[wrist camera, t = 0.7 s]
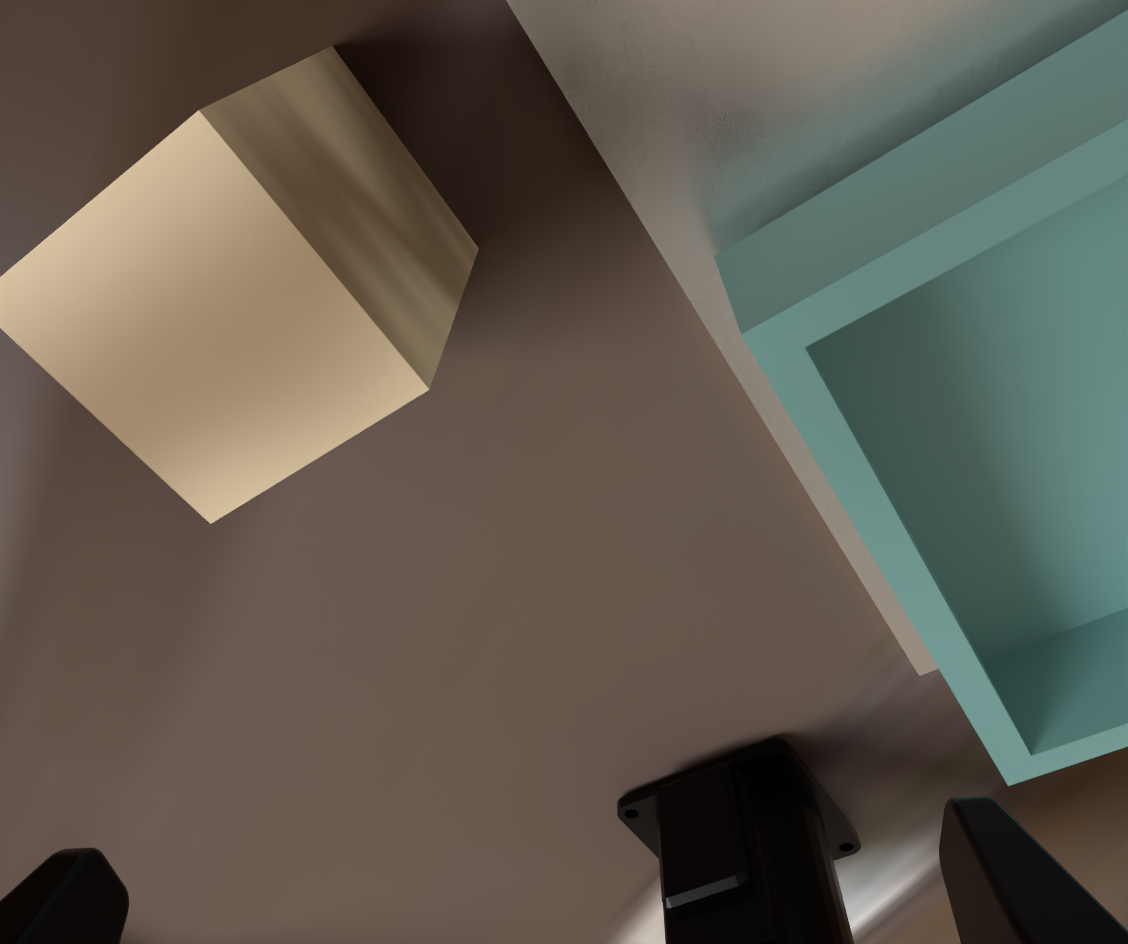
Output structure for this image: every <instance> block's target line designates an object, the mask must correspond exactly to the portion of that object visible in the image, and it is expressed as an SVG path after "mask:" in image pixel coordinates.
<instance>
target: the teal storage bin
mask: <svg viewBox="0 0 1128 944" xmlns="http://www.w3.org/2000/svg"><path fill="white" fill-rule="evenodd" d="M714 258H715V261H716V264H717V267H718V270H719V272H720V275H721V278H722V281H723V284H724V287H725V290H726V292H727V295H728V298H729V301H730V304H731V307H732V310H733V313H734V315H735V318H736V321H737V324H738V327H739V330H740V333H741V335H742V337H743V338H744V340H745V342H746V344H747V345H748V347H749V349H750V350H751V352H752V354H753V355H754V357H755V359H756V360H757V362H758V364H759V365H760V367H761V369H762V371H763V372H764V374H765V376H766V377H767V379H768V381H769V382H770V384H771V386H772V387H773V389H774V391H775V393H776V394H777V396H778V398H779V399H780V401H781V403H782V404H783V406H784V408H785V409H786V411H787V413H788V415H789V416H790V418H791V420H792V421H793V423H794V425H795V426H796V428H797V430H798V431H799V433H800V435H801V436H802V438H803V440H804V442H805V443H806V445H807V447H808V448H809V450H810V452H811V453H812V455H813V457H814V458H815V460H816V462H817V464H818V465H819V467H820V469H821V470H822V472H823V474H824V475H825V477H826V479H827V480H828V482H829V484H830V486H831V487H832V489H833V491H834V492H835V494H836V496H837V497H838V499H839V501H840V502H841V504H842V506H843V507H844V509H845V511H846V513H847V514H848V516H849V518H850V519H851V521H852V523H853V524H854V526H855V528H856V529H857V531H858V533H859V535H860V536H861V538H862V540H863V541H864V543H865V545H866V546H867V548H868V550H869V551H870V553H871V555H872V557H873V558H874V560H875V562H876V563H877V565H878V567H879V568H880V570H881V572H882V573H883V575H884V577H885V578H886V580H887V582H888V584H889V585H890V587H891V589H892V590H893V592H894V594H895V595H896V597H897V599H898V600H899V602H900V604H901V606H902V607H903V609H904V611H905V612H906V614H907V616H908V617H909V619H910V621H911V622H912V624H913V626H914V628H915V629H916V631H917V633H918V634H919V636H920V638H921V639H922V641H923V643H924V644H925V646H926V648H927V649H928V651H929V653H930V655H931V656H932V658H933V660H934V661H935V663H936V665H937V666H938V668H939V670H940V671H941V673H942V675H943V677H944V678H945V680H946V682H947V683H948V685H949V687H950V688H951V690H952V692H953V693H954V695H955V697H956V699H957V700H958V702H959V704H960V705H961V707H962V709H963V710H964V712H965V714H966V715H967V717H968V719H969V720H970V722H971V724H972V726H973V727H974V729H975V731H976V732H977V734H978V736H979V737H980V739H981V741H982V742H983V744H984V746H985V748H986V749H987V751H988V753H989V754H990V756H991V758H992V759H993V761H994V763H995V764H996V766H997V768H998V770H999V771H1000V773H1001V775H1002V776H1003V778H1004V780H1005V781H1006V783H1007V785H1008V786H1010V785H1013V784H1016V783H1019V782H1022V781H1025V780H1028V779H1031V778H1034V777H1037V776H1040V775H1043V774H1046V773H1049V772H1052V771H1056V770H1059V769H1062V768H1065V767H1068V766H1071V765H1074V764H1077V763H1080V762H1083V761H1086V760H1089V759H1092V758H1095V757H1098V756H1101V755H1104V754H1107V753H1110V752H1113V751H1116V750H1119V749H1122V748H1125V747H1128V10H1127V11H1125V12H1123V13H1121V14H1120V15H1118V16H1116V17H1115V18H1113V19H1111V20H1110V21H1108V22H1106V23H1105V24H1103V25H1101V26H1100V27H1098V28H1096V29H1095V30H1093V31H1091V32H1090V33H1088V34H1086V35H1085V36H1083V37H1081V38H1080V39H1078V40H1076V41H1075V42H1073V43H1071V44H1069V45H1068V46H1066V47H1064V48H1063V49H1061V50H1059V51H1058V52H1056V53H1054V54H1053V55H1051V56H1049V57H1048V58H1046V59H1044V60H1043V61H1041V62H1039V63H1038V64H1036V65H1034V66H1033V67H1031V68H1029V69H1028V70H1026V71H1024V72H1023V73H1021V74H1019V75H1017V76H1016V77H1014V78H1012V79H1011V80H1009V81H1007V82H1006V83H1004V84H1002V85H1001V86H999V87H997V88H996V89H994V90H992V91H991V92H989V93H987V94H986V95H984V96H982V97H981V98H979V99H977V100H976V101H974V102H972V103H971V104H969V105H967V106H965V107H964V108H962V109H960V110H959V111H957V112H955V113H954V114H952V115H950V116H949V117H947V118H945V119H944V120H942V121H940V122H939V123H937V124H935V125H934V126H932V127H930V128H929V129H927V130H925V131H924V132H922V133H920V134H919V135H917V136H915V137H914V138H912V139H910V140H908V141H907V142H905V143H903V144H902V145H900V146H898V147H897V148H895V149H893V150H892V151H890V152H888V153H887V154H885V155H883V156H882V157H880V158H878V159H877V160H875V161H873V162H872V163H870V164H868V165H867V166H865V167H863V168H862V169H860V170H858V171H856V172H855V173H853V174H851V175H850V176H848V177H846V178H845V179H843V180H841V181H840V182H838V183H836V184H835V185H833V186H831V187H830V188H828V189H826V190H825V191H823V192H821V193H820V194H818V195H816V196H815V197H813V198H811V199H810V200H808V201H806V202H804V203H803V204H801V205H799V206H798V207H796V208H794V209H793V210H791V211H789V212H788V213H786V214H784V215H783V216H781V217H779V218H778V219H776V220H774V221H773V222H771V223H769V224H768V225H766V226H764V227H763V228H761V229H759V230H758V231H756V232H754V233H753V234H751V235H749V236H747V237H746V238H744V239H742V240H741V241H739V242H737V243H736V244H734V245H732V246H731V247H729V248H727V249H726V250H724V251H722V252H721V253H719V254H717V255H716V256H714Z"/></svg>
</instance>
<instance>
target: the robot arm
mask: <svg viewBox="0 0 1128 944" xmlns="http://www.w3.org/2000/svg"><path fill="white" fill-rule="evenodd" d="M617 815H618V817H619V819H620V820H621V821H622V822H623V823H624V824H625V825H626V826H627V827H628V828H629V829H630V830H631V831H632V832H633V833H634V834H635V835H636V836H637V837H638V838H639V839H640V840H641V841H642V842H643V843H644V844H645V845H646V846H647V847H648V848H649V849H650V850H651V851H652V852H653V853H654V854H655V855H656V856H657V857H658V858H659V864H660V879H661V894H662V902H663V910H664V925H665V940H666V944H854V941H853V937H852V933H851V929H850V925H849V921H848V917H847V913H846V909H845V905H844V901H843V897H842V893H841V889H840V886H839V882H838V878H837V874H836V870H835V866H834V862H833V861H834V860H837V859H840V858H843V857H846V856H849V855H852V854H854V853H856V852H858V851H859V850H860V847H861V845H860V841H859V838H858V835H857V832H856V831H855V830H854V828H853V827H852V826H851V824H850V823H849V822H848V821H847V819H846V818H845V817H844V815H843V814H842V813H841V811H840V810H839V809H838V807H837V806H836V805H835V804H834V802H833V801H832V800H831V798H830V797H829V796H828V794H827V793H826V792H825V790H824V789H823V788H822V787H821V785H820V784H819V783H818V781H817V780H816V779H815V777H814V776H813V775H812V774H811V772H810V771H809V770H808V768H807V767H806V766H805V764H804V763H803V762H802V760H801V759H800V758H799V757H798V755H797V754H796V753H795V751H794V750H793V749H792V747H791V746H790V745H789V744H788V743H787V742H786V741H783V740H770V741H767V742H764V743H762V744H759V745H756V746H754V747H751V748H748V749H746V750H743V751H741V752H738V753H735V754H733V755H730V756H728V757H725V758H722V759H720V760H717V761H715V762H712V763H709V764H707V765H704V766H701V767H699V768H696V769H694V770H691V771H688V772H686V773H683V774H681V775H678V776H675V777H673V778H670V779H668V780H665V781H662V782H660V783H657V784H654V785H652V786H649V787H647V788H644V789H641V790H639V791H636V792H634V793H631V794H628V795H626V796H623V797H622V798H620V799H619V800H618V802H617ZM939 857H940V865H941V870H942V874H943V878H944V882H945V885H946V889H947V893H948V896H949V900H950V904H951V908H952V911H953V915H954V919H955V922H956V926H957V930H958V933H959V937H960V941H961V944H1128V931H1127V930H1126V929H1125V928H1124V927H1123V926H1122V925H1121V924H1120V923H1119V922H1118V921H1117V920H1116V919H1115V918H1114V917H1113V916H1112V915H1111V914H1110V913H1109V912H1108V911H1107V910H1106V909H1105V908H1104V907H1103V906H1102V905H1101V904H1100V903H1099V902H1098V901H1097V900H1096V899H1095V898H1094V897H1093V896H1092V895H1091V894H1090V893H1089V892H1088V891H1087V890H1086V889H1085V888H1084V887H1083V886H1082V885H1081V884H1080V883H1079V882H1078V881H1077V880H1076V879H1075V878H1074V877H1073V876H1072V875H1071V874H1070V873H1069V872H1068V871H1067V870H1066V869H1065V868H1064V867H1063V866H1062V865H1061V864H1060V863H1059V862H1058V861H1057V860H1056V859H1054V858H1053V857H1052V856H1051V855H1050V854H1049V853H1048V852H1047V851H1046V850H1045V849H1044V848H1043V847H1042V846H1041V845H1040V844H1039V843H1038V842H1037V841H1036V840H1035V839H1034V838H1033V837H1032V836H1031V835H1030V834H1029V833H1028V832H1027V831H1026V830H1025V829H1024V828H1023V827H1022V826H1021V825H1020V824H1019V823H1018V822H1017V821H1016V820H1015V819H1014V818H1013V817H1012V816H1011V815H1010V814H1009V813H1008V812H1007V811H1006V810H1005V809H1004V808H1003V807H1002V806H1001V805H1000V804H999V803H998V802H996V801H995V800H994V799H992V798H989V797H986V796H973V797H955V798H950V799H949V800H948V801H947V803H946V805H945V809H944V816H943V824H942V831H941V838H940V846H939ZM128 908H129V896H128V892H127V889H126V887H125V886H124V884H123V883H122V881H121V880H120V878H119V877H118V875H117V874H116V872H115V871H114V869H113V868H112V866H111V865H110V863H109V862H108V860H107V859H106V858H105V856H104V855H103V853H102V852H101V851H100V850H98V849H95V848H75V849H65V850H61V851H58V852H56V853H55V854H53V855H51V856H50V857H49V858H48V859H46V860H45V861H44V862H43V863H42V864H41V865H40V866H39V867H38V868H36V869H35V870H34V871H33V872H32V873H31V874H30V875H29V876H27V877H26V878H25V879H24V880H23V881H22V882H21V883H20V884H18V885H17V886H16V887H15V888H14V889H13V890H12V891H11V892H9V893H8V894H7V895H6V896H5V897H4V898H3V899H2V900H1V901H0V944H120V940H121V936H122V933H123V929H124V926H125V922H126V918H127V914H128Z"/></svg>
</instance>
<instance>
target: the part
mask: <svg viewBox="0 0 1128 944" xmlns="http://www.w3.org/2000/svg"><path fill="white" fill-rule="evenodd" d="M478 250H479V248H478V247H477V245H476V244H475V243H474V241H473V240H472V238H471V237H470V236H469V234H468V233H467V232H466V230H465V229H464V227H463V226H462V225H461V223H460V222H459V220H458V219H457V218H456V216H455V215H454V214H453V212H452V211H451V209H450V208H449V207H448V205H447V204H446V203H445V201H444V200H443V198H442V197H441V196H440V194H439V193H438V191H437V190H436V189H435V187H434V186H433V185H432V183H431V182H430V180H429V179H428V178H427V176H426V175H425V173H424V172H423V171H422V169H421V168H420V167H419V165H418V164H417V162H416V161H415V160H414V158H413V157H412V155H411V154H410V153H409V151H408V150H407V149H406V147H405V146H404V144H403V143H402V142H401V140H400V139H399V137H398V136H397V135H396V133H395V132H394V131H393V129H392V128H391V126H390V125H389V124H388V122H387V121H386V120H385V118H384V117H383V115H382V114H381V113H380V111H379V110H378V108H377V107H376V106H375V104H374V103H373V102H372V100H371V99H370V97H369V96H368V95H367V93H366V92H365V90H364V89H363V88H362V86H361V85H360V84H359V82H358V81H357V79H356V78H355V77H354V75H353V74H352V72H351V71H350V70H349V68H348V67H347V66H346V64H345V63H344V61H343V60H342V59H341V57H340V56H339V55H338V53H337V52H336V50H335V49H334V48H333V46H331V47H329V48H327V49H325V50H323V51H321V52H319V53H316V54H314V55H312V56H310V57H308V58H306V59H304V60H302V61H300V62H298V63H296V64H294V65H292V66H290V67H287V68H285V69H283V70H281V71H279V72H277V73H275V74H273V75H271V76H269V77H267V78H265V79H263V80H261V81H258V82H256V83H254V84H252V85H250V86H248V87H246V88H244V89H242V90H240V91H238V92H236V93H234V94H232V95H229V96H227V97H225V98H223V99H221V100H219V101H217V102H215V103H213V104H211V105H209V106H207V107H205V108H203V109H200V110H199V111H197V112H196V113H195V114H194V115H193V116H191V117H190V118H189V119H188V120H187V121H186V122H184V123H183V124H182V125H181V126H180V127H178V128H177V129H176V130H175V131H174V132H172V133H171V134H170V135H169V136H168V137H166V138H165V139H164V140H163V141H162V142H161V143H159V144H158V145H157V146H156V147H155V148H153V149H152V150H151V151H150V152H149V153H147V154H146V155H145V156H144V157H143V158H142V159H140V160H139V161H138V162H137V163H136V164H134V165H133V166H132V167H131V168H130V169H128V170H127V171H126V172H125V173H124V174H122V175H121V176H120V177H119V178H118V179H117V180H115V181H114V182H113V183H112V184H111V185H109V186H108V187H107V188H106V189H105V190H103V191H102V192H101V193H100V194H99V195H97V196H96V197H95V198H94V199H93V200H92V201H90V202H89V203H88V204H87V205H86V206H84V207H83V208H82V209H81V210H80V211H78V212H77V213H76V214H75V215H74V216H72V217H71V218H70V219H69V220H68V221H67V222H65V223H64V224H63V225H62V226H61V227H59V228H58V229H57V230H56V231H55V232H53V233H52V234H51V235H50V236H49V237H48V238H46V239H45V240H44V241H43V242H42V243H40V244H39V245H38V246H37V247H36V248H34V249H33V250H32V251H31V252H30V253H28V254H27V255H26V256H25V257H24V258H23V259H21V260H20V261H19V262H18V263H17V264H15V265H14V266H13V267H12V268H11V269H9V270H8V271H7V272H6V273H5V274H3V275H2V276H1V277H0V328H1V329H2V330H3V331H4V332H5V333H6V334H7V335H8V336H10V337H11V338H12V339H13V340H14V341H15V342H16V343H17V344H18V345H19V346H20V347H21V348H22V349H23V350H25V351H26V352H27V353H28V354H29V355H30V356H31V357H32V358H33V359H34V360H35V361H36V362H37V363H39V364H40V365H41V366H42V367H43V368H44V369H45V370H46V371H47V372H48V373H49V374H50V375H51V376H52V377H54V378H55V379H56V380H57V381H58V382H59V383H60V384H61V385H62V386H63V387H64V388H65V389H66V390H67V391H69V392H70V393H71V394H72V395H73V396H74V397H75V398H76V399H77V400H78V401H79V402H80V403H81V404H82V405H84V406H85V407H86V408H87V409H88V410H89V411H90V412H91V413H92V414H93V415H94V416H95V417H96V418H97V419H99V420H100V421H101V422H102V423H103V424H104V425H105V426H106V427H107V428H108V429H109V430H110V431H111V432H113V433H114V434H115V435H116V436H117V437H118V438H119V439H120V440H121V441H122V442H123V443H124V444H125V445H126V446H128V447H129V448H130V449H131V450H132V451H133V452H134V453H135V454H136V455H137V456H138V457H139V458H140V459H141V460H143V461H144V462H145V463H146V464H147V465H148V466H149V467H150V468H151V469H152V470H153V471H154V472H155V473H156V474H158V475H159V476H160V477H161V478H162V479H163V480H164V481H165V482H166V483H167V484H168V485H169V486H170V487H172V488H173V489H174V490H175V491H176V492H177V493H178V494H179V495H180V496H181V497H182V498H183V499H184V500H185V501H187V502H188V503H189V504H190V505H191V506H192V507H193V508H194V509H195V510H196V511H197V512H198V513H199V514H200V515H202V516H203V517H204V518H205V519H206V520H207V521H208V522H209V523H210V524H211V523H213V522H215V521H216V520H218V519H219V518H221V517H223V516H224V515H226V514H228V513H229V512H231V511H232V510H234V509H236V508H237V507H239V506H241V505H242V504H244V503H245V502H247V501H249V500H250V499H252V498H254V497H255V496H257V495H258V494H260V493H262V492H263V491H265V490H267V489H268V488H270V487H272V486H273V485H275V484H276V483H278V482H280V481H281V480H283V479H285V478H286V477H288V476H289V475H291V474H293V473H294V472H296V471H298V470H299V469H301V468H302V467H304V466H306V465H307V464H309V463H311V462H312V461H314V460H315V459H317V458H319V457H320V456H322V455H324V454H325V453H327V452H328V451H330V450H332V449H333V448H335V447H337V446H338V445H340V444H342V443H343V442H345V441H346V440H348V439H350V438H351V437H353V436H355V435H356V434H358V433H359V432H361V431H363V430H364V429H366V428H368V427H369V426H371V425H372V424H374V423H376V422H377V421H379V420H381V419H382V418H384V417H385V416H387V415H389V414H390V413H392V412H394V411H395V410H397V409H398V408H400V407H402V406H403V405H405V404H407V403H408V402H410V401H411V400H413V399H415V398H416V397H418V396H420V395H421V394H423V393H425V392H426V391H428V390H429V389H430V386H431V384H432V381H433V378H434V375H435V372H436V369H437V366H438V364H439V361H440V358H441V355H442V352H443V349H444V347H445V344H446V341H447V338H448V335H449V332H450V330H451V327H452V324H453V321H454V318H455V315H456V313H457V310H458V307H459V304H460V301H461V298H462V295H463V293H464V290H465V287H466V284H467V281H468V278H469V276H470V273H471V270H472V267H473V264H474V261H475V259H476V256H477V253H478Z"/></svg>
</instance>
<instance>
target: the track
mask: <svg viewBox="0 0 1128 944" xmlns="http://www.w3.org/2000/svg"><path fill="white" fill-rule="evenodd" d="M506 1H507V3H508V4H509V6H510V8H511V9H512V11H513V12H514V14H515V16H516V17H517V19H518V21H519V22H520V24H521V26H522V27H523V29H524V30H525V32H526V34H527V35H528V37H529V39H530V40H531V42H532V44H533V45H534V47H535V48H536V50H537V52H538V53H539V55H540V57H541V58H542V60H543V62H544V63H545V65H546V66H547V68H548V70H549V71H550V73H551V75H552V76H553V78H554V80H555V81H556V83H557V84H558V86H559V88H560V89H561V91H562V93H563V94H564V96H565V97H566V99H567V101H568V102H569V104H570V106H571V107H572V109H573V111H574V112H575V114H576V115H577V117H578V119H579V120H580V122H581V124H582V125H583V127H584V129H585V130H586V132H587V133H588V135H589V137H590V138H591V140H592V142H593V143H594V145H595V147H596V148H597V150H598V151H599V153H600V155H601V156H602V158H603V160H604V161H605V163H606V165H607V166H608V168H609V169H610V171H611V173H612V174H613V176H614V178H615V179H616V181H617V183H618V184H619V186H620V187H621V189H622V191H623V192H624V194H625V196H626V197H627V199H628V200H629V202H630V204H631V205H632V207H633V209H634V210H635V212H636V214H637V215H638V217H639V218H640V220H641V222H642V223H643V225H644V227H645V228H646V230H647V232H648V233H649V235H650V236H651V238H652V240H653V241H654V243H655V245H656V246H657V248H658V250H659V251H660V253H661V254H662V256H663V258H664V259H665V261H666V263H667V264H668V266H669V268H670V269H671V271H672V272H673V274H674V276H675V277H676V279H677V281H678V282H679V284H680V285H681V287H682V289H683V290H684V292H685V294H686V295H687V297H688V299H689V300H690V302H691V303H692V305H693V307H694V308H695V310H696V312H697V313H698V315H699V317H700V318H701V320H702V321H703V323H704V325H705V326H706V328H707V330H708V331H709V333H710V335H711V336H712V338H713V339H714V341H715V343H716V344H717V346H718V348H719V349H720V351H721V353H722V354H723V356H724V357H725V359H726V361H727V362H728V364H729V366H730V367H731V369H732V371H733V372H734V374H735V375H736V377H737V379H738V380H739V382H740V384H741V385H742V387H743V388H744V390H745V392H746V393H747V395H748V397H749V398H750V400H751V402H752V403H753V405H754V406H755V408H756V410H757V411H758V413H759V415H760V416H761V418H762V420H763V421H764V423H765V424H766V426H767V428H768V429H769V431H770V433H771V434H772V436H773V438H774V439H775V441H776V442H777V444H778V446H779V447H780V449H781V451H782V452H783V454H784V456H785V457H786V459H787V460H788V462H789V464H790V465H791V467H792V469H793V470H794V472H795V473H796V475H797V477H798V478H799V480H800V482H801V483H802V485H803V487H804V488H805V490H806V491H807V493H808V495H809V496H810V498H811V500H812V501H813V503H814V505H815V506H816V508H817V509H818V511H819V513H820V514H821V516H822V518H823V519H824V521H825V523H826V524H827V526H828V527H829V529H830V531H831V532H832V534H833V536H834V537H835V539H836V541H837V542H838V544H839V545H840V547H841V549H842V550H843V552H844V554H845V555H846V557H847V559H848V560H849V562H850V563H851V565H852V567H853V568H854V570H855V572H856V573H857V575H858V576H859V578H860V580H861V581H862V583H863V585H864V586H865V588H866V590H867V591H868V593H869V594H870V596H871V598H872V599H873V601H874V603H875V604H876V606H877V608H878V609H879V611H880V612H881V614H882V616H883V617H884V619H885V621H886V622H887V624H888V626H889V627H890V629H891V630H892V632H893V634H894V635H895V637H896V639H897V640H898V642H899V644H900V645H901V647H902V648H903V650H904V652H905V653H906V655H907V657H908V658H909V660H910V662H911V663H912V665H913V666H914V668H915V670H916V671H917V673H918V675H919V676H921V675H923V674H926V673H929V672H931V671H934V670H936V669H939V668H938V666H937V665H936V663H935V661H934V660H933V658H932V656H931V655H930V653H929V651H928V649H927V648H926V646H925V644H924V643H923V641H922V639H921V638H920V636H919V634H918V633H917V631H916V629H915V628H914V626H913V624H912V622H911V621H910V619H909V617H908V616H907V614H906V612H905V611H904V609H903V607H902V606H901V604H900V602H899V600H898V599H897V597H896V595H895V594H894V592H893V590H892V589H891V587H890V585H889V584H888V582H887V580H886V578H885V577H884V575H883V573H882V572H881V570H880V568H879V567H878V565H877V563H876V562H875V560H874V558H873V557H872V555H871V553H870V551H869V550H868V548H867V546H866V545H865V543H864V541H863V540H862V538H861V536H860V535H859V533H858V531H857V529H856V528H855V526H854V524H853V523H852V521H851V519H850V518H849V516H848V514H847V513H846V511H845V509H844V507H843V506H842V504H841V502H840V501H839V499H838V497H837V496H836V494H835V492H834V491H833V489H832V487H831V486H830V484H829V482H828V480H827V479H826V477H825V475H824V474H823V472H822V470H821V469H820V467H819V465H818V464H817V462H816V460H815V458H814V457H813V455H812V453H811V452H810V450H809V448H808V447H807V445H806V443H805V442H804V440H803V438H802V436H801V435H800V433H799V431H798V430H797V428H796V426H795V425H794V423H793V421H792V420H791V418H790V416H789V415H788V413H787V411H786V409H785V408H784V406H783V404H782V403H781V401H780V399H779V398H778V396H777V394H776V393H775V391H774V389H773V387H772V386H771V384H770V382H769V381H768V379H767V377H766V376H765V374H764V372H763V371H762V369H761V367H760V365H759V364H758V362H757V360H756V359H755V357H754V355H753V354H752V352H751V350H750V349H749V347H748V345H747V344H746V342H745V340H744V338H743V337H742V335H741V333H740V330H739V327H738V324H737V321H736V318H735V315H734V313H733V310H732V307H731V304H730V301H729V298H728V295H727V292H726V290H725V287H724V284H723V281H722V278H721V275H720V272H719V270H718V267H717V264H716V261H715V258H714V256H716V255H717V254H719V253H721V252H722V251H724V250H726V249H727V248H729V247H731V246H732V245H734V244H736V243H737V242H739V241H741V240H742V239H744V238H746V237H747V236H749V235H751V234H753V233H754V232H756V231H758V230H759V229H761V228H763V227H764V226H766V225H768V224H769V223H771V222H773V221H774V220H776V219H778V218H779V217H781V216H783V215H784V214H786V213H788V212H789V211H791V210H793V209H794V208H796V207H798V206H799V205H801V204H803V203H804V202H806V201H808V200H810V199H811V198H813V197H815V196H816V195H818V194H820V193H821V192H823V191H825V190H826V189H828V188H830V187H831V186H833V185H835V184H836V183H838V182H840V181H841V180H843V179H845V178H846V177H848V176H850V175H851V174H853V173H855V172H856V171H858V170H860V169H862V168H863V167H865V166H867V165H868V164H870V163H872V162H873V161H875V160H877V159H878V158H880V157H882V156H883V155H885V154H887V153H888V152H890V151H892V150H893V149H895V148H897V147H898V146H900V145H902V144H903V143H905V142H907V141H908V140H910V139H912V138H914V137H915V136H917V135H919V134H920V133H922V132H924V131H925V130H927V129H929V128H930V127H932V126H934V125H935V124H937V123H939V122H940V121H942V120H944V119H945V118H947V117H949V116H950V115H952V114H954V113H955V112H957V111H959V110H960V109H962V108H964V107H965V106H967V105H969V104H971V103H972V102H974V101H976V100H977V99H979V98H981V97H982V96H984V95H986V94H987V93H989V92H991V91H992V90H994V89H996V88H997V87H999V86H1001V85H1002V84H1004V83H1006V82H1007V81H1009V80H1011V79H1012V78H1014V77H1016V76H1017V75H1019V74H1021V73H1023V72H1024V71H1026V70H1028V69H1029V68H1031V67H1033V66H1034V65H1036V64H1038V63H1039V62H1041V61H1043V60H1044V59H1046V58H1048V57H1049V56H1051V55H1053V54H1054V53H1056V52H1058V51H1059V50H1061V49H1063V48H1064V47H1066V46H1068V45H1069V44H1071V43H1073V42H1075V41H1076V40H1078V39H1080V38H1081V37H1083V36H1085V35H1086V34H1088V33H1090V32H1091V31H1093V30H1095V29H1096V28H1098V27H1100V26H1101V25H1103V24H1105V23H1106V22H1108V21H1110V20H1111V19H1113V18H1115V17H1116V16H1118V15H1120V14H1121V13H1123V12H1125V11H1127V10H1128V0H506Z"/></svg>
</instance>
